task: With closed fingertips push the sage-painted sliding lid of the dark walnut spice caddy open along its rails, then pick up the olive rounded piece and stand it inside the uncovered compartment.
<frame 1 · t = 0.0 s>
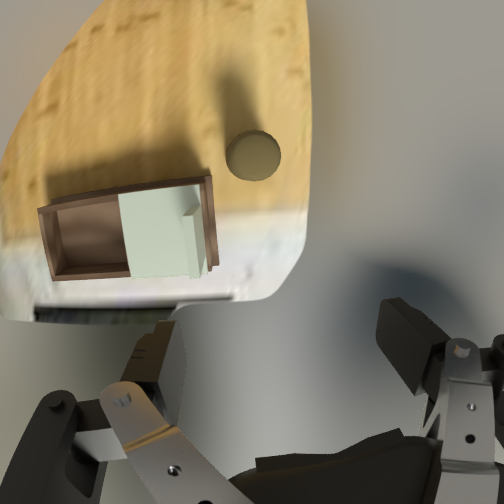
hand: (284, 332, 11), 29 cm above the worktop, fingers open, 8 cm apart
olive rounded piece: (248, 157, 37), on the worktop
caddy: (171, 224, 38), on the worktop
lid: (155, 241, 30), point 9 cm above the worktop, slide at 0.0 cm
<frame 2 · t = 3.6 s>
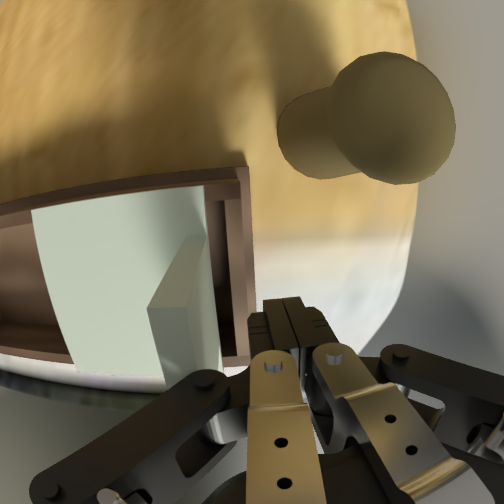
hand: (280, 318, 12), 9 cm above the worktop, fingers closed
olive rounded piece: (320, 135, 18), on the worktop
caddy: (166, 261, 20), on the worktop
lid: (99, 330, 11), point 9 cm above the worktop, slide at 1.3 cm, touching gripper
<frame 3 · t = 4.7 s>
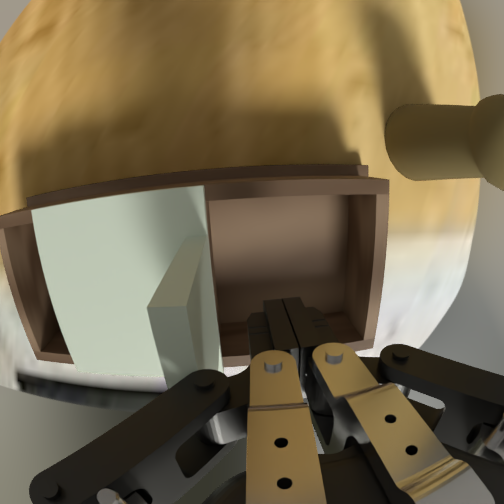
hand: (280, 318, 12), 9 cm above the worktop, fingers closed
olive rounded piece: (415, 142, 19), on the worktop
caddy: (280, 253, 20), on the worktop
lid: (99, 330, 11), point 9 cm above the worktop, slide at 9.2 cm, touching gripper
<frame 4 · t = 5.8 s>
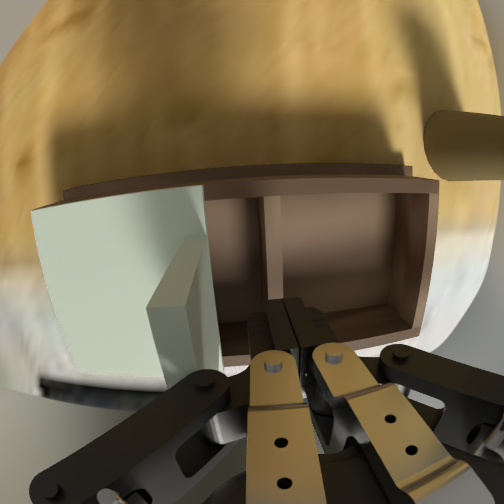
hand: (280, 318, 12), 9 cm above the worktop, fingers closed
olive rounded piece: (448, 145, 19), on the worktop
caddy: (332, 248, 20), on the worktop
lid: (99, 331, 11), point 9 cm above the worktop, slide at 13.0 cm, touching gripper
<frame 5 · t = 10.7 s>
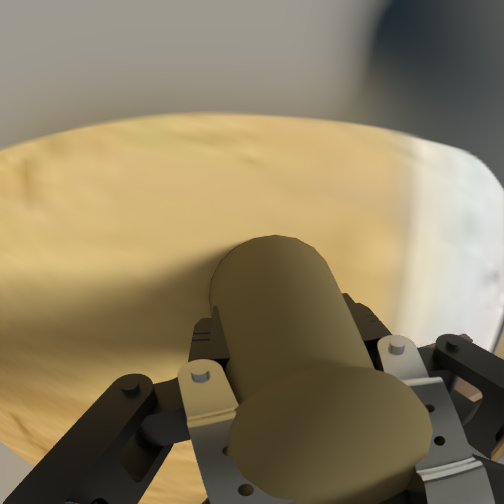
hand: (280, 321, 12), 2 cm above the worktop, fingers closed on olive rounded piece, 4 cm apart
olive rounded piece: (272, 295, 14), on the worktop, touching gripper
caddy: (382, 414, 17), on the worktop
when the fingers open (5 cm above the worktop, at t = 16.5 s): olive rounded piece stays where it is, resting on caddy.
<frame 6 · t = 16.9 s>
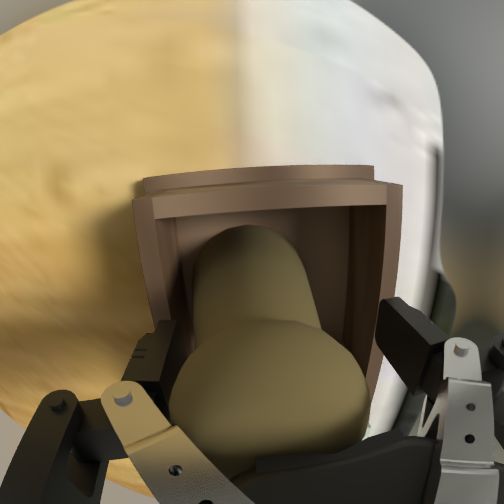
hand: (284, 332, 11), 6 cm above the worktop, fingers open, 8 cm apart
olive rounded piece: (248, 279, 16), point 1 cm above the worktop, touching caddy
caddy: (266, 274, 17), on the worktop
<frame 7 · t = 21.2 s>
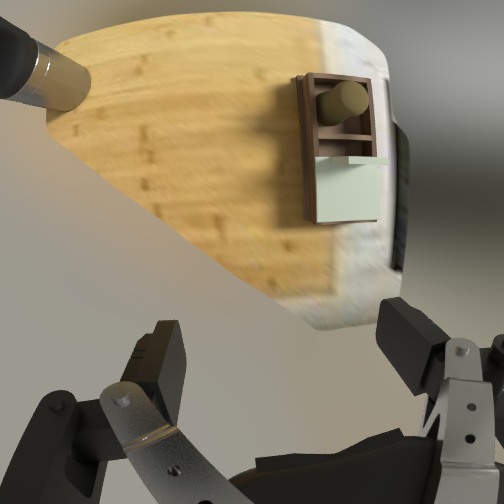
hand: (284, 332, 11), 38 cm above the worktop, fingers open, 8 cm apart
olive rounded piece: (328, 109, 43), point 1 cm above the worktop, touching caddy
caddy: (333, 111, 44), on the worktop
lid: (358, 191, 39), point 9 cm above the worktop, slide at 13.0 cm
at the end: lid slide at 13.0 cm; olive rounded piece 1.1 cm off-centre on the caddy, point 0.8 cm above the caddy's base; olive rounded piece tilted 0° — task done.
